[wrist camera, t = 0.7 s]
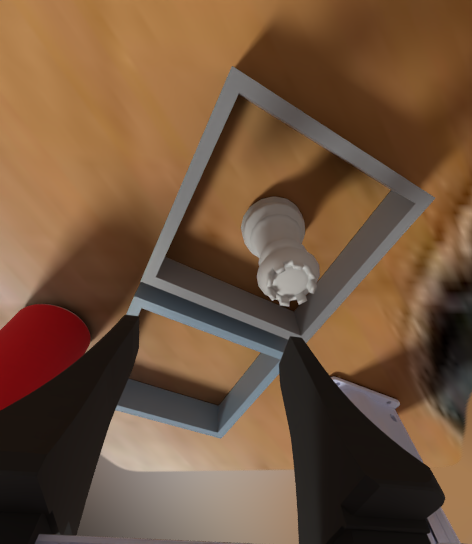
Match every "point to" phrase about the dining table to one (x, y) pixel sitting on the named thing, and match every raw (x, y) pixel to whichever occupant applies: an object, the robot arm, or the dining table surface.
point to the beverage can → (38, 349)
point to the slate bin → (190, 410)
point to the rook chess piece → (280, 250)
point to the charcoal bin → (345, 269)
